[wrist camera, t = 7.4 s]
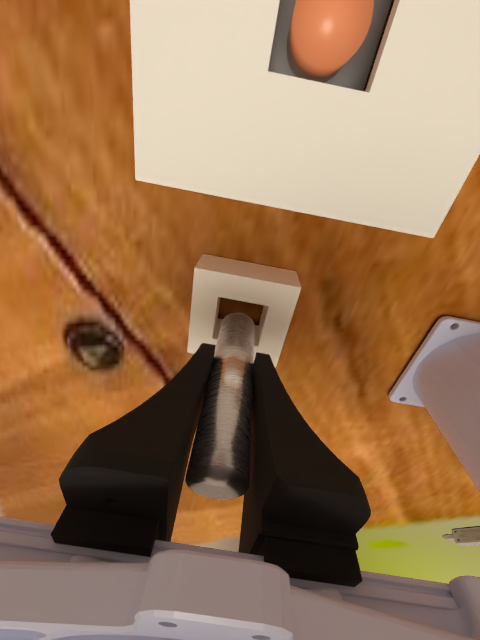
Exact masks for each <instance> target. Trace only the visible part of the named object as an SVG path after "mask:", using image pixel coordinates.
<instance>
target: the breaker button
mask: <svg viewBox="0 0 480 640" xmlns="http://www.w3.org/2000/svg"><path fill="white" fill-rule="evenodd" d="M391 2H392V0H280V4H279V10H278V16H277V22H276V28H275V34H274V40H273V45H272V51H271V57H270V63H269V69H268V71H269V72H274V73H279V74H283V75H288V76H293V77H298V78H302V79H307V80H312V81H316V82H321V83H326V84H331V85H335V86H340V87H345V88H349V89H354V90H359V91H363V90H364V87H365V84H366V81H367V78H368V74H369V71H370V68H371V65H372V62H373V59H374V56H375V52H376V49H377V46H378V43H379V40H380V37H381V34H382V30H383V27H384V24H385V21H386V18H387V15H388V12H389V9H390V5H391Z"/></svg>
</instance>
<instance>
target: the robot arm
mask: <svg viewBox="0 0 480 640" xmlns="http://www.w3.org/2000/svg"><path fill="white" fill-rule="evenodd" d="M454 323H455V324H454ZM452 324H454V325H453V326H451V325H452ZM450 326H451V327H450ZM215 347H216V345H213V344H207V343H202V344H201V345H200V347H199V348H198V350H197V351H196V353H195V354H194V355H193V356H192V358H191V359H190V360H189V361H188V363H187V364H186V365H185V366H184V367H183V368H182V369H181V371H180V372H179V373H178V374H177V375H176V376H175V377H174V378H173V379H172V380H171V381H170V382H168V383H167V384H166V385H165V386H164V387H163V388H162V389H161V390H159V391H158V392H157V393H156V394H155V395H153V396H152V397H151V398H149V399H148V400H147V401H145V402H144V403H143V404H141V405H140V406H138V407H137V408H135V409H134V410H132V411H131V412H129V413H127V414H126V415H124V416H123V417H121V418H119V419H118V420H116V421H114V422H113V423H111V424H109V425H107V426H105V427H103V428H101V429H99V430H97V431H96V432H94V433H92V434H90V435H89V436H88V437H87V438H86V439H85V440H84V442H83V443H82V444H81V445H80V447H79V448H78V449H77V451H76V452H75V453H74V455H73V456H72V458H71V459H70V461H69V463H68V464H67V466H66V468H65V469H64V471H63V472H62V474H61V476H60V478H59V483H60V487H61V490H62V493H63V496H64V499H65V502H66V504H67V505H66V507H65V509H64V511H63V513H62V514H61V516H60V518H59V520H58V522H57V523H56V525H53V524H46V523H40V522H33V521H26V520H20V519H13V518H6V517H0V640H480V577H475V576H460V577H457V578H454V579H453V580H451V581H450V582H449V584H446V583H439V582H432V581H425V580H419V579H412V578H405V577H399V576H393V575H386V574H379V573H373V572H366V571H360V568H359V563H358V559H357V555H356V551H355V550H358V542H357V538H356V533H357V532H358V531H359V530H360V529H361V528H362V527H363V525H364V524H365V523H366V522H367V520H368V519H369V517H370V515H371V510H370V506H369V503H368V500H367V497H366V494H365V491H364V489H363V486H362V484H361V482H360V479H359V477H358V476H357V475H356V474H354V473H353V472H352V471H351V470H350V469H349V468H348V467H347V466H346V465H345V464H344V463H342V462H341V461H340V460H339V459H338V458H337V457H336V456H335V455H334V454H333V453H332V452H331V451H330V450H329V449H328V448H327V447H326V445H325V444H324V443H323V442H322V441H321V440H320V439H319V437H318V436H317V435H316V434H315V433H314V432H313V430H312V429H311V428H310V427H309V425H308V424H307V423H306V421H305V420H304V419H303V417H302V416H301V414H300V413H299V412H298V410H297V408H296V407H295V405H294V404H293V402H292V400H291V399H290V397H289V395H288V394H287V392H286V390H285V388H284V386H283V384H282V382H281V380H280V378H279V376H278V374H277V372H276V369H275V367H274V365H273V362H272V359H271V357H270V355H269V354H264V353H258V352H256V356H255V360H254V364H253V393H252V423H251V454H250V485H249V489H248V491H247V492H246V493H245V494H244V503H243V513H242V524H241V534H240V544H239V552H232V551H225V550H220V549H213V548H206V547H200V546H193V545H186V544H180V543H173V542H170V541H171V536H172V532H173V527H174V522H175V518H176V513H177V508H178V504H179V499H180V494H181V490H182V485H183V481H184V476H185V472H186V467H187V463H188V458H189V454H190V449H191V445H192V441H193V438H194V434H195V431H196V428H197V425H198V422H199V418H200V413H201V409H202V405H203V400H204V396H205V392H206V387H207V383H208V379H209V375H210V372H211V368H212V364H213V359H214V354H215ZM388 396H389V399H390V400H391V401H392V402H397V403H402V404H408V405H414V406H420V407H425V409H426V410H427V412H428V413H429V415H430V416H431V418H432V419H433V421H434V423H435V424H436V426H437V427H438V429H439V430H440V432H441V433H442V435H443V436H444V438H445V439H446V441H447V443H448V444H449V446H450V447H451V449H452V450H453V452H454V453H455V455H456V456H457V458H458V459H459V461H460V463H461V464H462V466H463V467H464V469H465V470H466V472H467V473H468V475H469V476H470V478H471V479H472V481H473V483H474V484H475V486H476V487H477V489H478V490H479V492H480V322H477V321H472V320H466V319H461V318H456V317H450V316H444V317H441V318H440V319H439V320H438V321H437V322H436V324H435V325H434V327H433V328H432V330H431V331H430V333H429V334H428V336H427V337H426V339H425V340H424V342H423V343H422V345H421V346H420V348H419V349H418V351H417V352H416V354H415V355H414V357H413V358H412V360H411V361H410V363H409V364H408V366H407V367H406V369H405V370H404V372H403V373H402V375H401V376H400V378H399V379H398V381H397V382H396V384H395V385H394V387H393V388H392V390H391V391H390V393H389V395H388Z"/></svg>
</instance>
